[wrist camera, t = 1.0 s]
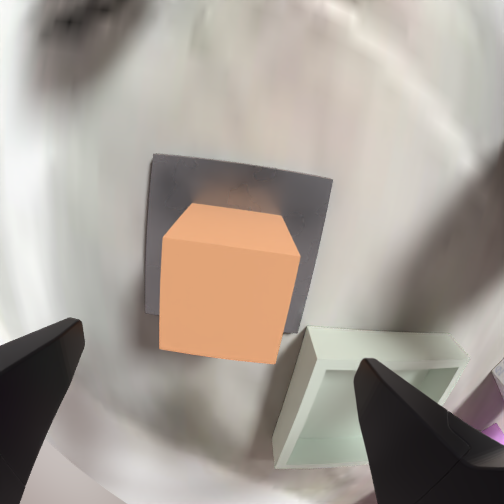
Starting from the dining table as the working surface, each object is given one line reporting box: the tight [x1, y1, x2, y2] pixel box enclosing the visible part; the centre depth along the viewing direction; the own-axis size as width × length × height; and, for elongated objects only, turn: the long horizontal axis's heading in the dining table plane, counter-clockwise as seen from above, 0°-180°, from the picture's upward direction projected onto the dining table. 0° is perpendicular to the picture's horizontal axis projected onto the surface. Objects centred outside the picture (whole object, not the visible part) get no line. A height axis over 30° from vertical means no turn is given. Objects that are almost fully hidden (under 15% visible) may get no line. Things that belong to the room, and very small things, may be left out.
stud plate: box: [145, 153, 333, 333], centre depth 16 cm, size 10×10×6 cm
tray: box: [272, 326, 470, 469], centre depth 21 cm, size 13×13×4 cm
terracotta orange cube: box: [159, 203, 301, 364], centre depth 15 cm, size 5×5×6 cm
